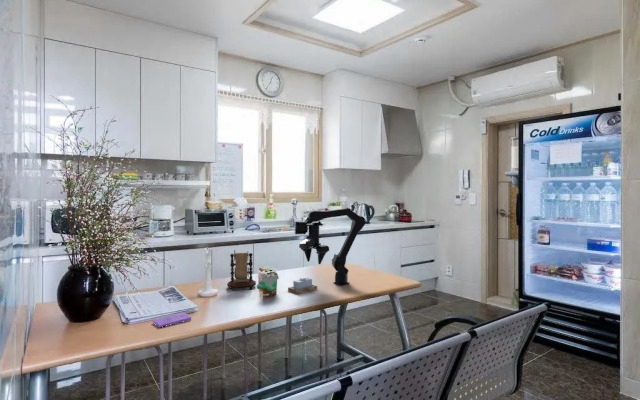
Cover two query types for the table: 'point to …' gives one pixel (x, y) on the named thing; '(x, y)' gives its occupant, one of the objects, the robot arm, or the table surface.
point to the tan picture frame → (302, 289)
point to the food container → (270, 284)
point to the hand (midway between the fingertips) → (313, 262)
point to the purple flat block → (172, 319)
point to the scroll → (241, 272)
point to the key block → (302, 283)
